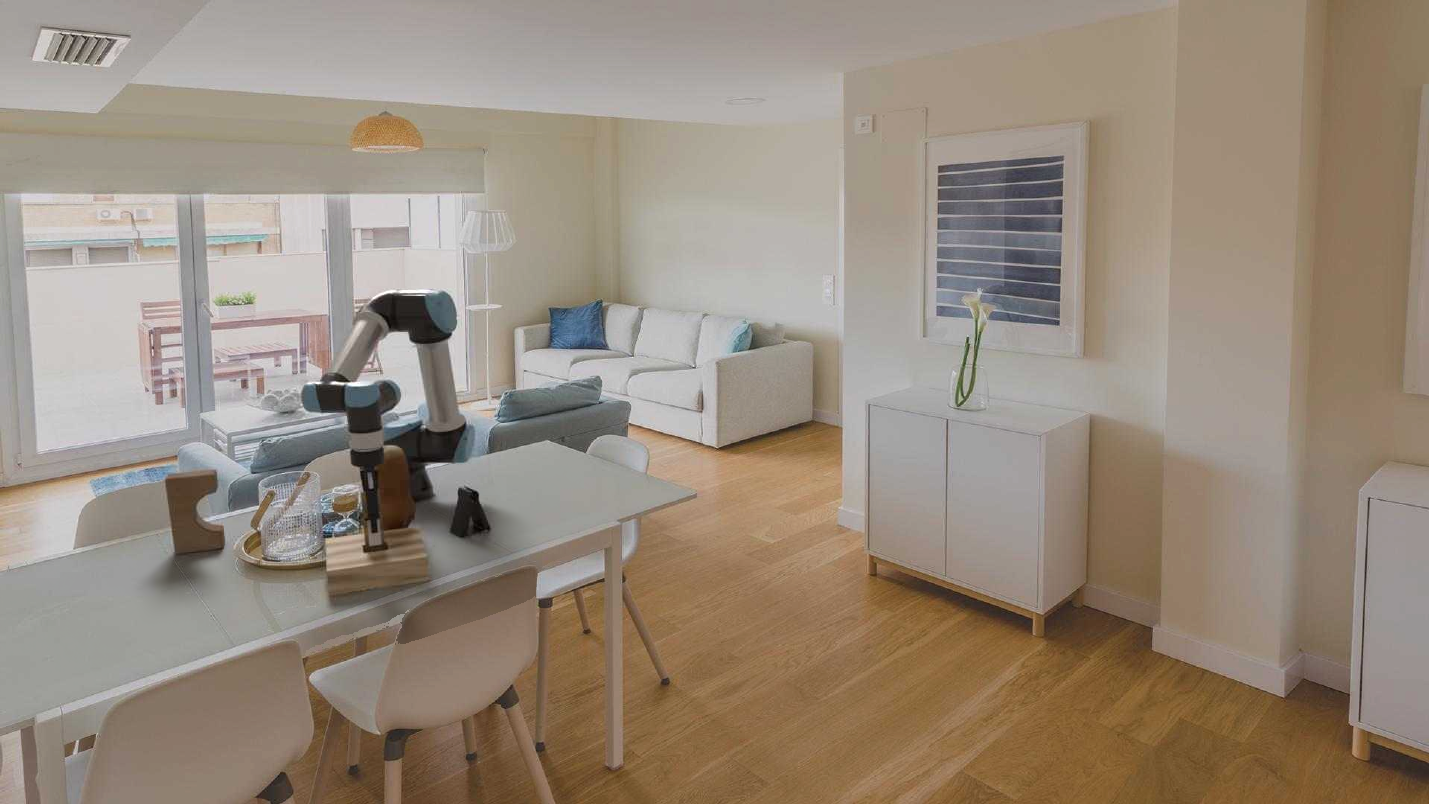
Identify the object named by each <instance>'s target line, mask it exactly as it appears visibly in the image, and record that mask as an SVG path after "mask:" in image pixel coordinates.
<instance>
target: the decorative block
mask: <svg viewBox="0 0 1429 804" xmlns="http://www.w3.org/2000/svg"><path fill="white" fill-rule="evenodd" d="M164 483H165V490H166V491H165V493H166V499H167V504H168V505H167V506H168V511H169V512H168V513H169V520H170V527H171V534H172V541H173V542H172V543H173V550H174V554H175V555H176V554H178V555H184V554H183V553H185V554H192V552H193V553H200V552H199V551H201V552H207V551H214V550H216V549H217V550H223V548H224V546H225V544H226V537H225V530H224V529H225V528H224V526H223V524H214V523H210V522H208V521H206V520H205V519H203V518H202V517H201V516H200V515H199V512H198V509H197V506H198V505H197V504H199V502H200V501H201V500H203V499H204V498H205V497H206V496H208V495H212V494H215V493H216V492H217V491H218V488H219V480H218V471H217V469H215V468H214V469H206V470H205V469H204V470H203V469H202V470H196V471H194V470H193V471H183V472H173V473H168V474H167V476H166V477H165V480H164ZM217 550H216V551H217Z"/></svg>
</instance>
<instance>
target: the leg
mask: <svg viewBox="0 0 1429 804" xmlns="http://www.w3.org/2000/svg"><path fill="white" fill-rule="evenodd" d="M377 497H378V509H379V515H380V517H379V520H380V532H381V545H373V546H369V535H368V524H367V521H365V519H364V518H367V517H368V515H367V504H366V493H365V492H364V491H363V490H362V491H361V492H360V498H361V499H360V500H361V511H362V513H361V514H362V522H363V524H362V525H363V534H364V536H365V547H366V553H368V552H375V551H383V550H385V540H384V528H383V516H382V504H381V492H380V490H377Z"/></svg>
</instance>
